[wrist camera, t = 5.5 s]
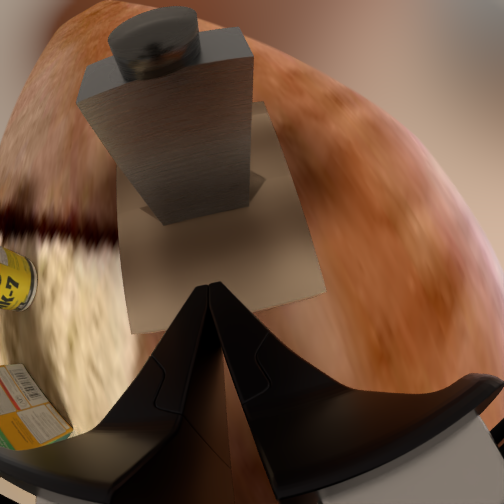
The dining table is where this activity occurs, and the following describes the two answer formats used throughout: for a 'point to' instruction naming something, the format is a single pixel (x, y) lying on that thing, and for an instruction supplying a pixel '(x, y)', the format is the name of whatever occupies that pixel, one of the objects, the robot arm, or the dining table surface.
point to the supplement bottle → (16, 281)
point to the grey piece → (175, 112)
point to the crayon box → (27, 412)
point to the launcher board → (220, 244)
